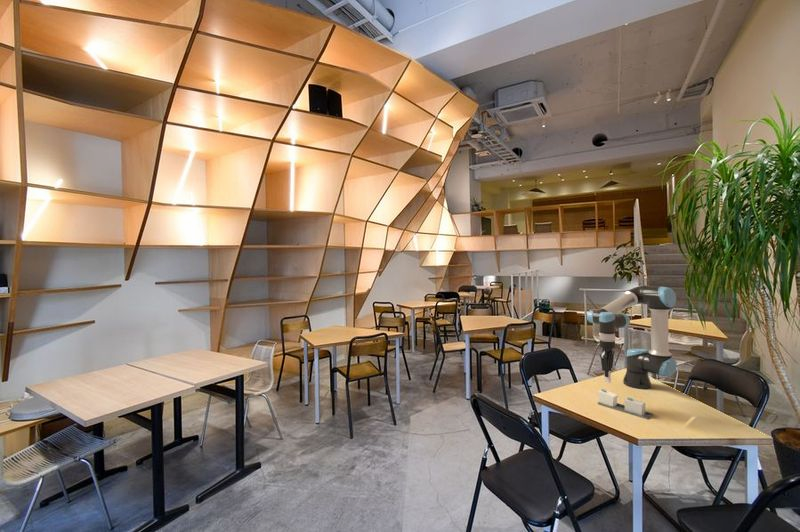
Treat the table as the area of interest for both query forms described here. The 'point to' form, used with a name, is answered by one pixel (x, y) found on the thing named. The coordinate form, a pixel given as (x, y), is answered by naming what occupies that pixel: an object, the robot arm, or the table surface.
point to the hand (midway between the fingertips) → (607, 382)
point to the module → (607, 398)
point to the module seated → (635, 406)
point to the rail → (622, 409)
